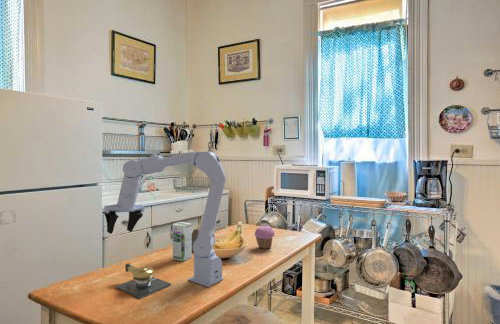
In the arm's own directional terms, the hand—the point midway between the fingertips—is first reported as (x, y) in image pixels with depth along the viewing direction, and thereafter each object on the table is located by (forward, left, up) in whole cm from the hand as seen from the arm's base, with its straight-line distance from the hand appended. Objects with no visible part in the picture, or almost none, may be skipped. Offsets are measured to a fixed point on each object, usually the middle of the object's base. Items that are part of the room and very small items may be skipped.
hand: (119, 231), depth 114 cm
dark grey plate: (-13, 0, -16) cm, 21 cm away
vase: (+1, -38, -16) cm, 42 cm away
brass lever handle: (-10, 0, -13) cm, 16 cm away
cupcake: (-22, -58, -16) cm, 64 cm away
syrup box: (-3, -26, -16) cm, 31 cm away
